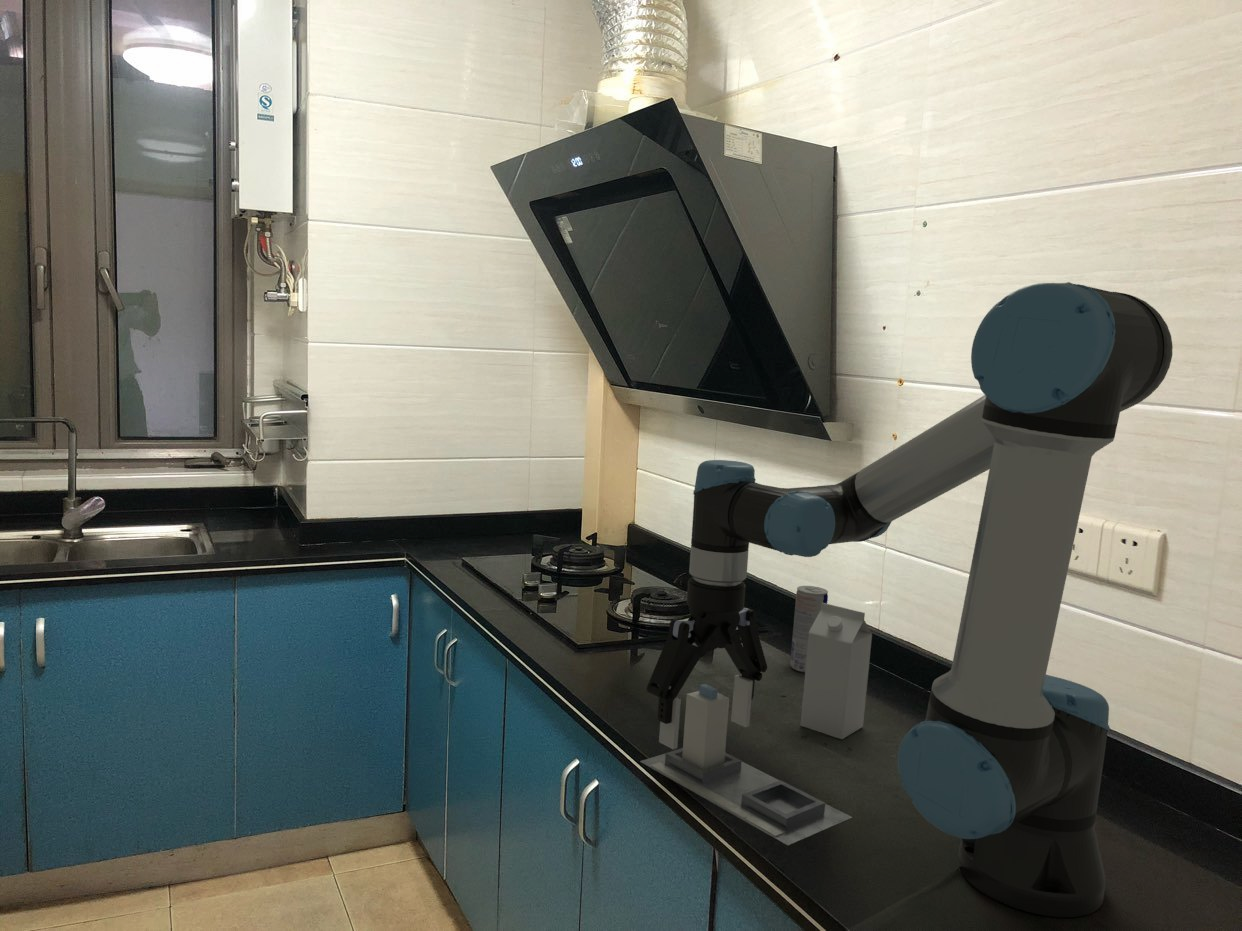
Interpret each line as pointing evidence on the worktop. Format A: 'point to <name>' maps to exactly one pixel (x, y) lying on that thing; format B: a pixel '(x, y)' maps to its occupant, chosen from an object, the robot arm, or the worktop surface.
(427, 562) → the worktop surface
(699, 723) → the plug
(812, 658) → the milk carton
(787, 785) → the panel
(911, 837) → the worktop surface
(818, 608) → the beverage can
